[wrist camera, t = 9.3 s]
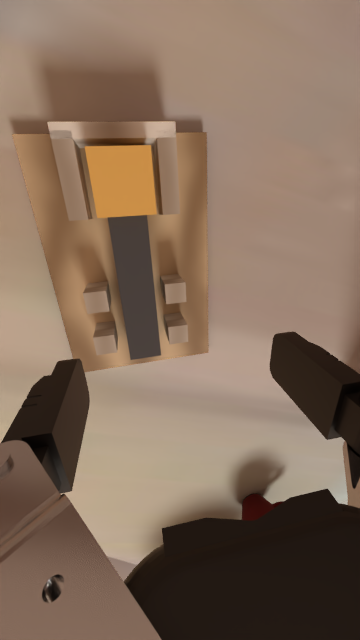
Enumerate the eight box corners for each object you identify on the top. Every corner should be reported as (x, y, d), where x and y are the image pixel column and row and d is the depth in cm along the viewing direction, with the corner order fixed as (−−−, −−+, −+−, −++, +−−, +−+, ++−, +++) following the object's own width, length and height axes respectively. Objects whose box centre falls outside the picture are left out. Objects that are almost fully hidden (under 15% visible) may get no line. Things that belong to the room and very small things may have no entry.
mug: (269, 473, 46) (304, 535, 37) (287, 489, 50) (322, 550, 41) (224, 503, 47) (248, 572, 38) (245, 518, 51) (271, 583, 42)
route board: (203, 135, 23) (219, 119, 19) (206, 348, 32) (217, 368, 28) (17, 137, 20) (-10, 119, 16) (78, 368, 30) (71, 392, 26)
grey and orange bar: (92, 158, 21) (84, 146, 17) (145, 157, 22) (150, 145, 18) (123, 344, 29) (123, 366, 25) (163, 338, 30) (169, 359, 25)
